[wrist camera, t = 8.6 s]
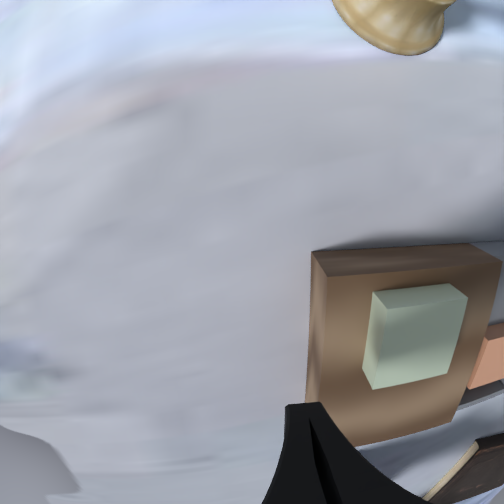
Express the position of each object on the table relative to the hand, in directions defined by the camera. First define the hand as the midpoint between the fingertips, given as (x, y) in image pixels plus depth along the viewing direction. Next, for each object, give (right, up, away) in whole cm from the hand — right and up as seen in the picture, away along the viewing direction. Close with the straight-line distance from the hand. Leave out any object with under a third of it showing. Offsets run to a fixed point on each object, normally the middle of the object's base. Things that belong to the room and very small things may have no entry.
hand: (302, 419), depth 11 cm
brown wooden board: (+8, 0, +10) cm, 13 cm away
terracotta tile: (+19, -3, +9) cm, 21 cm away
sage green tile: (+7, +2, +5) cm, 9 cm away
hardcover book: (+35, -26, +20) cm, 48 cm away
